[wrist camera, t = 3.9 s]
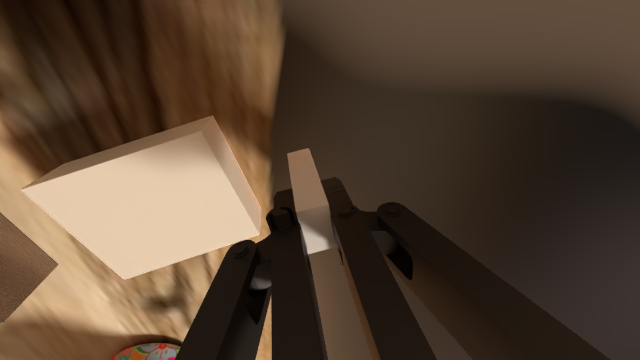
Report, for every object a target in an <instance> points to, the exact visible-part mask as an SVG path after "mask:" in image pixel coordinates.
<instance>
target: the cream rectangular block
mask: <svg viewBox="0 0 640 360" xmlns="http://www.w3.org/2000/svg"><path fill="white" fill-rule="evenodd" d="M21 191H22V192H23V193H24V194H25V195H26V196H27V197H29V198H30V199H31V200H32V201H33V202H34V203H36V204H37V205H38V206H39V207H40V208H41V209H43V210H44V211H45V212H46V213H47V214H48V215H49V216H51V217H52V218H53V219H54V220H55V221H56V222H58V223H59V224H60V225H61V226H62V227H63V228H65V229H66V230H67V231H68V232H69V233H70V234H71V235H73V236H74V237H75V238H76V239H77V240H78V241H80V242H81V243H82V244H83V245H84V246H85V247H87V248H88V249H89V250H90V251H91V252H92V253H93V254H95V255H96V256H97V257H98V258H99V259H100V260H102V261H103V262H104V263H105V264H106V265H107V266H109V267H110V268H111V269H112V270H113V271H114V272H115V273H117V274H118V275H119V276H120V277H121V278H122V279H124V280H125V279H128V278H131V277H134V276H137V275H140V274H143V273H146V272H149V271H152V270H155V269H158V268H161V267H164V266H167V265H170V264H173V263H176V262H179V261H182V260H185V259H188V258H191V257H194V256H197V255H201V254H204V253H207V252H210V251H213V250H216V249H219V248H222V247H225V246H228V245H231V244H234V243H237V242H240V241H243V240H246V239H249V238H252V237H255V236H258V235H260V222H261V207H260V205H259V203H258V201H257V199H256V197H255V195H254V193H253V191H252V190H251V188H250V186H249V184H248V182H247V180H246V178H245V176H244V174H243V172H242V170H241V168H240V166H239V164H238V162H237V161H236V159H235V157H234V155H233V153H232V151H231V149H230V147H229V145H228V143H227V141H226V139H225V137H224V135H223V134H222V132H221V130H220V128H219V126H218V124H217V122H216V120H215V118H214V116H213V115H212V116H209V117H206V118H203V119H200V120H196V121H193V122H190V123H187V124H184V125H181V126H178V127H175V128H172V129H169V130H166V131H163V132H160V133H156V134H153V135H150V136H147V137H144V138H141V139H138V140H135V141H132V142H129V143H126V144H123V145H120V146H117V147H113V148H110V149H107V150H104V151H101V152H98V153H95V154H92V155H89V156H86V157H83V158H80V159H77V160H74V161H70V162H67V163H64V164H62V165H61V166H59V167H57V168H56V169H54V170H52V171H51V172H49V173H47V174H46V175H44V176H42V177H41V178H39V179H37V180H36V181H34V182H32V183H31V184H29V185H27V186H26V187H24V188H22V189H21Z"/></svg>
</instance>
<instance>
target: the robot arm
mask: <svg viewBox="0 0 640 360" xmlns="http://www.w3.org/2000/svg"><path fill="white" fill-rule="evenodd" d="M287 156H288V162H289V169H290V176H291V183H292V188H291V189H287V190H283V191H279V192H277V193H276V195H275V196H274V209H272V210H271V211H270V212H269V213H268V214H267V216H266V220H267V223H268V225H269V228H270V231H271V234H270V235H269V236H268V237H267V238H265V239H263V240H262V241H260V242H258V243H256V244H255V242H253V241H252V240H243V241H240V242H238V243H236V244H234V245H233V246H232V247H230V249H229V250H228V251H227V253H226V255H225V257H224V259H223V261H222V263H221V265H220V267H219V269H218V272H217V274H216V276H215V278H214V280H213V282H212V284H211V286H210V288H209V290H208V292H207V294H206V296H205V298H204V300H203V302H202V304H201V306H200V308H199V311H198V313H197V315H196V317H195V319H194V321H193V323H192V325H191V327H190V329H189V331H188V333H187V335H186V337H185V339H184V341H183V343H182V345H181V348H180V350H179V352H178V354H177V356H176V358H175V360H255V359H256V355H257V351H258V346H259V342H260V338H261V334H262V330H263V326H264V322H265V318H266V314H267V310H268V305H269V301H270V297H271V299H272V360H328V357H327V351H326V345H325V340H324V335H323V329H322V323H321V318H320V312H319V307H318V302H317V297H316V291H315V285H314V280H313V275H312V269H311V263H310V260H309V256H308V254H311V253H314V252H318V251H322V250H326V249H330V248H333V247H338V252H339V257H340V262H341V265H342V266H343V269H344V272H345V275H346V279H347V281H348V285H349V288H350V291H351V294H352V297H353V300H354V304H355V307H356V310H357V313H358V316H359V319H360V323H361V326H362V329H363V332H364V335H365V338H366V342H367V345H368V348H369V351H370V354H371V357H372V360H437V359H436V357H435V355H434V353H433V351H432V349H431V347H430V345H429V344H428V342H427V340H426V338H425V336H424V334H423V332H422V330H421V328H420V326H419V324H418V322H417V320H416V318H415V317H414V315H413V313H412V311H411V309H410V307H409V305H408V303H407V301H406V299H405V297H404V295H403V293H402V292H401V290H400V288H399V286H398V284H397V282H396V280H395V278H394V276H393V274H392V272H391V270H390V269H389V266H390V267H391V268H392V269H393V270H394V271H395V273H396V274H397V275H398V276H399V277H400V278H401V279H402V281H403V282H404V283H405V284H406V285H407V286H408V287H409V288H410V289H411V291H413V293H414V294H415V295H416V296H417V297H418V299H419V300H420V301H421V302H422V303H423V304H424V305H425V306H426V307H427V309H428V310H429V311H430V312H431V313H432V314H433V315H434V317H435V318H436V319H437V320H438V321H439V322H440V323H441V324H442V326H443V327H444V328H445V329H446V330H447V331H448V332H449V333H450V335H451V336H452V337H453V338H454V339H455V340H456V341H457V342H458V344H459V345H460V346H461V347H462V348H463V349H464V350H465V351H466V353H467V354H468V355H469V356H470V357H471V358H472V359H473V360H610V359H609V358H607V357H606V356H605V355H604V354H602V353H601V352H599V351H598V350H597V349H595V348H594V347H593V346H591V345H590V344H589V343H587V342H586V341H585V340H583V339H582V338H581V337H579V336H578V335H577V334H575V333H574V332H573V331H571V330H570V329H568V328H567V327H566V326H565V325H563V324H562V323H561V322H559V321H558V320H556V319H555V318H554V317H553V316H551V315H550V314H549V313H547V312H546V311H544V310H543V309H542V308H541V307H539V306H538V305H536V304H535V303H534V302H532V301H531V300H530V299H528V298H527V297H526V296H524V295H523V294H522V293H520V292H519V291H518V290H516V289H515V288H514V287H512V286H511V285H510V284H508V283H507V282H506V281H504V280H503V279H502V278H500V277H499V276H498V275H496V274H495V273H493V272H492V271H491V270H490V269H488V268H487V267H486V266H484V265H483V264H482V263H480V262H479V261H477V260H476V259H475V258H473V257H472V256H471V255H469V254H468V253H467V252H465V251H464V250H463V249H461V248H460V247H459V246H457V245H456V244H455V243H453V242H452V241H450V240H449V239H448V238H447V237H445V236H444V235H442V234H441V233H440V232H439V231H437V230H436V229H435V228H433V227H432V226H431V225H429V224H428V223H426V222H425V221H424V220H423V219H421V218H420V217H418V216H417V215H416V214H414V213H413V212H412V211H410V210H409V209H408V208H406V207H405V206H404V205H401V204H400V203H395V202H388V203H384V204H382V205H380V206H379V207H378V209H377V212H365V211H361V210H359V209H358V208H357V207H356V206H354V205H353V204H352V201H351V200H350V198H349V196H348V194H347V192H346V190H345V188H344V186H343V184H342V182H341V180H339V179H338V178H336V177H333V178H330V179H325V180H322V181H320V179H319V176H318V173H317V170H316V167H315V165H314V162H313V159H312V156H311V153H310V151H309V149H304V150H300V151H296V152H291V153H287ZM387 264H388V265H389V266H388V265H387Z"/></svg>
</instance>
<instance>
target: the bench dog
mask: <svg viewBox="0 0 640 360" xmlns="http://www.w3.org/2000/svg"><path fill="white" fill-rule="evenodd" d="M57 265H58V264H57V263H56V262H55V261H53V260H52V259H51V258H50V257H49V256H48V255H47V254H46V253H44V252H43V251H42V250H41V249H40V248H39V247H38V246H37V245H35V244H34V243H33V242H32V241H31V240H30V239H29V238H28V237H26V236H25V235H24V234H23V233H22V232H21V231H20V230H19V229H18V228H16V227H15V226H14V225H13V224H12V223H11V222H10V221H9V220H7V219H6V218H5V217H4V216H3V215H2V214H1V213H0V323H1V322H4V321H5V320H6V319H7V318H8V317H9V316H10V315H11V314H12V313H13V312H14V311H15V310H16V309H17V308H18V307H19V306H20V304H21V303H22V302H23V301H24V300H25V299H26V298H27V297H28V296H29V295H30V294H31V293H32V292H33V291H34V290H35V289H36V288H37V287H38V285H39V284H40V283H41V282H42V281H43V280H44V279H45V278H46V277H47V276H48V275H49V274H50V273H51V272H52V271H53V270H54V269H55V268H56V267H57Z"/></svg>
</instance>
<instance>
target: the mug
mask: <svg viewBox="0 0 640 360" xmlns="http://www.w3.org/2000/svg"><path fill="white" fill-rule="evenodd" d="M180 348H181V347H180V346H177V345H173V344H167V343H147V344H141V345H137V346H133V347H130V348H127V349H125V350H123V351H121V352H119V353H118V354H117V355H115V356H114V357H113V358H112V359H111V360H175V358H176V356H177V354H178V352H179V350H180Z"/></svg>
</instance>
